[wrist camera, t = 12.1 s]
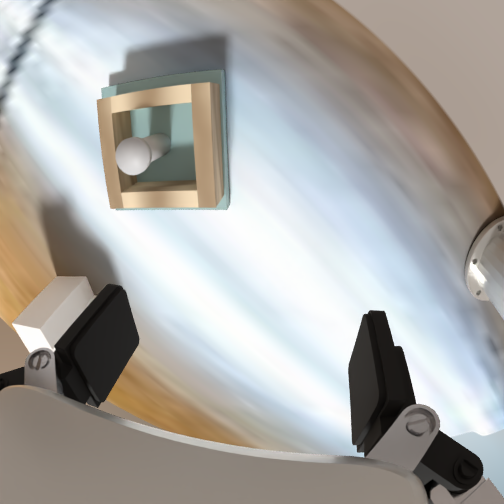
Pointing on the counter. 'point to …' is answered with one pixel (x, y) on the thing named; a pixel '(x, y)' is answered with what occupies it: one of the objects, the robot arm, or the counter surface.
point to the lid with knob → (167, 135)
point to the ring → (205, 148)
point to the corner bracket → (53, 311)
